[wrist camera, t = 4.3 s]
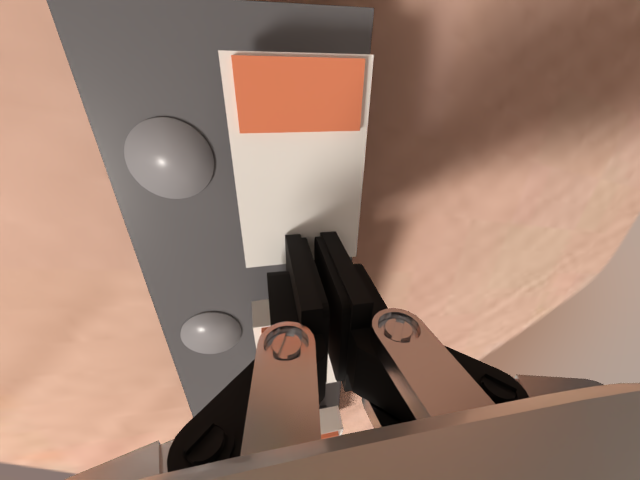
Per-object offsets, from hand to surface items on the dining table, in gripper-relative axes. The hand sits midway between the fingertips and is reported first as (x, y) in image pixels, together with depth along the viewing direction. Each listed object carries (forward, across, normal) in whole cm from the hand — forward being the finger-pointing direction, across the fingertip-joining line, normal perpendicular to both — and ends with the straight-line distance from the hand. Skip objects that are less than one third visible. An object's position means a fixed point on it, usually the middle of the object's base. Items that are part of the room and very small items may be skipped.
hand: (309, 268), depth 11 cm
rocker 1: (0, 0, -4) cm, 4 cm away
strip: (+4, +2, +5) cm, 7 cm away
